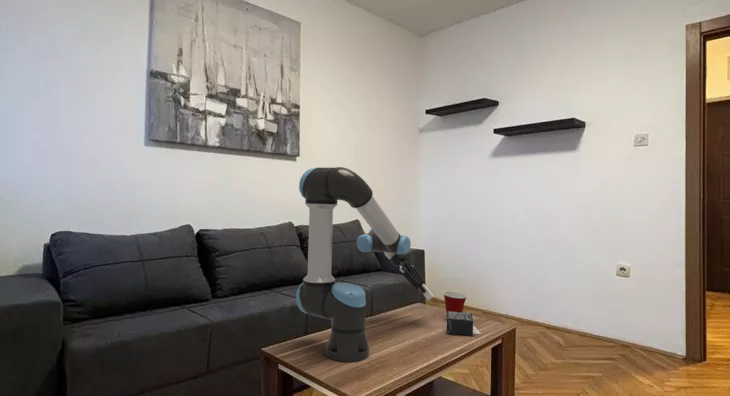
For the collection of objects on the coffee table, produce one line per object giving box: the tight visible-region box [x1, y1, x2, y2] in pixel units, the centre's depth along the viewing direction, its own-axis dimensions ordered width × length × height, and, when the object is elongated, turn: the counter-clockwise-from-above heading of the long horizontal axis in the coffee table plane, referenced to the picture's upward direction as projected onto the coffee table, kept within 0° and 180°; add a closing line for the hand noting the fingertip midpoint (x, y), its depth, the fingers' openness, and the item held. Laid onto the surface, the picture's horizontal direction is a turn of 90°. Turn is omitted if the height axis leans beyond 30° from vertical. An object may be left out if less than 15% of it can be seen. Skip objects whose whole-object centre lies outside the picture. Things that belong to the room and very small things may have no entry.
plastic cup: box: [442, 290, 468, 314], centre depth 187 cm, size 11×11×12 cm
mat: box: [445, 322, 482, 335], centre depth 175 cm, size 12×13×1 cm
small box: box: [446, 311, 474, 336], centre depth 171 cm, size 11×6×10 cm
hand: (431, 298), depth 174 cm, fingers closed
